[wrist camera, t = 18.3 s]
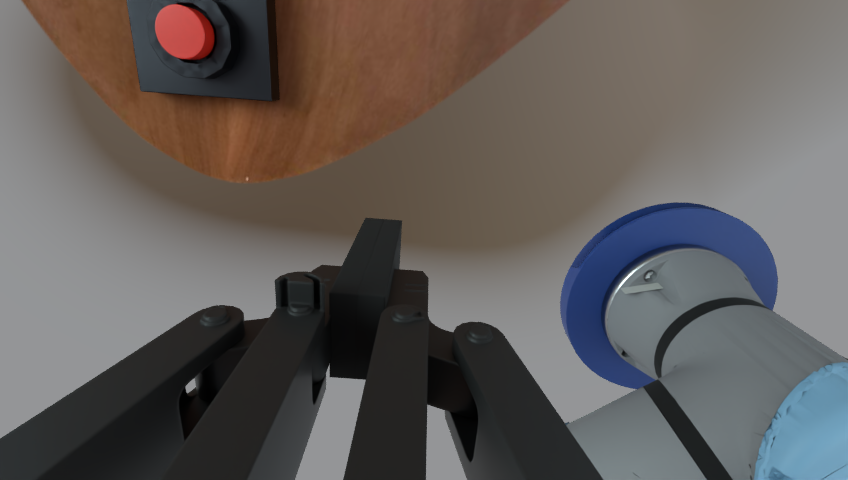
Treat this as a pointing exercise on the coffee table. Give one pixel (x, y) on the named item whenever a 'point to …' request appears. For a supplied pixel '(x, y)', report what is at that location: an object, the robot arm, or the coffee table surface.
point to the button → (184, 32)
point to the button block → (227, 62)
